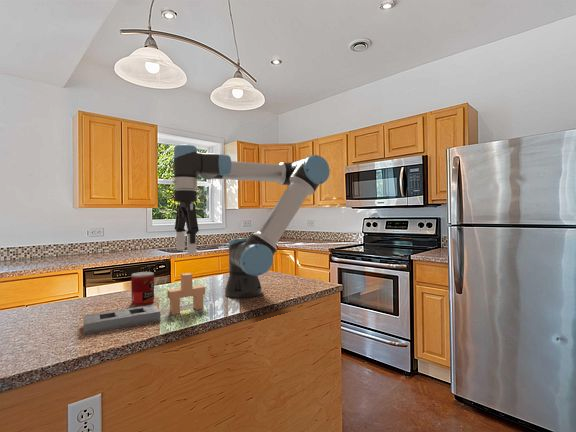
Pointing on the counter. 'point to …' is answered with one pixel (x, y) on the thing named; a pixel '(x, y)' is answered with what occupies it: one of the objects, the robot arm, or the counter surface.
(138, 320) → the grey slotted base
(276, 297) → the counter surface
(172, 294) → the clip
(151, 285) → the canned food
